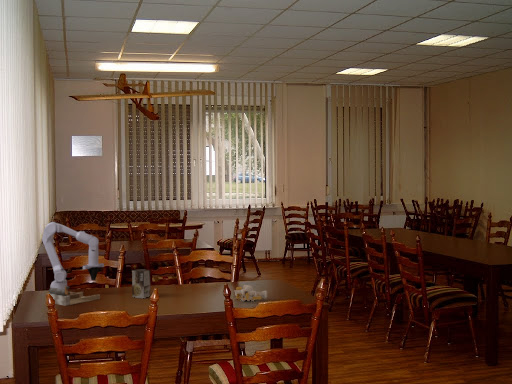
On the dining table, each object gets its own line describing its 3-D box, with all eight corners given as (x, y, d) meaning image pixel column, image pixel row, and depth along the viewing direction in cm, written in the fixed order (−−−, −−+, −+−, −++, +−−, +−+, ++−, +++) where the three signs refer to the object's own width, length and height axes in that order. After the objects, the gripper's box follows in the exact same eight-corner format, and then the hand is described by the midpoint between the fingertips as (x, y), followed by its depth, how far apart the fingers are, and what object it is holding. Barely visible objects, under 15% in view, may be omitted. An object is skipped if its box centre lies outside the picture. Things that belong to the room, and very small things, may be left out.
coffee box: (150, 297, 404) (151, 270, 404) (143, 298, 399) (143, 271, 398) (138, 295, 409) (139, 268, 408) (131, 297, 403) (131, 270, 403)
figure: (271, 300, 399) (272, 284, 398) (253, 305, 384) (253, 288, 384) (247, 297, 409) (248, 281, 409) (229, 301, 394) (229, 285, 394)
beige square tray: (57, 301, 384) (57, 293, 384) (69, 299, 391) (69, 291, 391) (68, 303, 379) (68, 295, 379) (80, 301, 386) (80, 293, 386)
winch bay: (46, 303, 382) (46, 283, 382) (81, 296, 403) (81, 278, 402) (66, 306, 373) (66, 286, 373) (100, 299, 394) (100, 281, 393)
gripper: (88, 259, 396) (88, 282, 397) (107, 256, 408) (107, 279, 409) (80, 258, 400) (80, 281, 401) (99, 255, 412) (99, 278, 413)
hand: (93, 280), depth 405 cm, fingers closed
